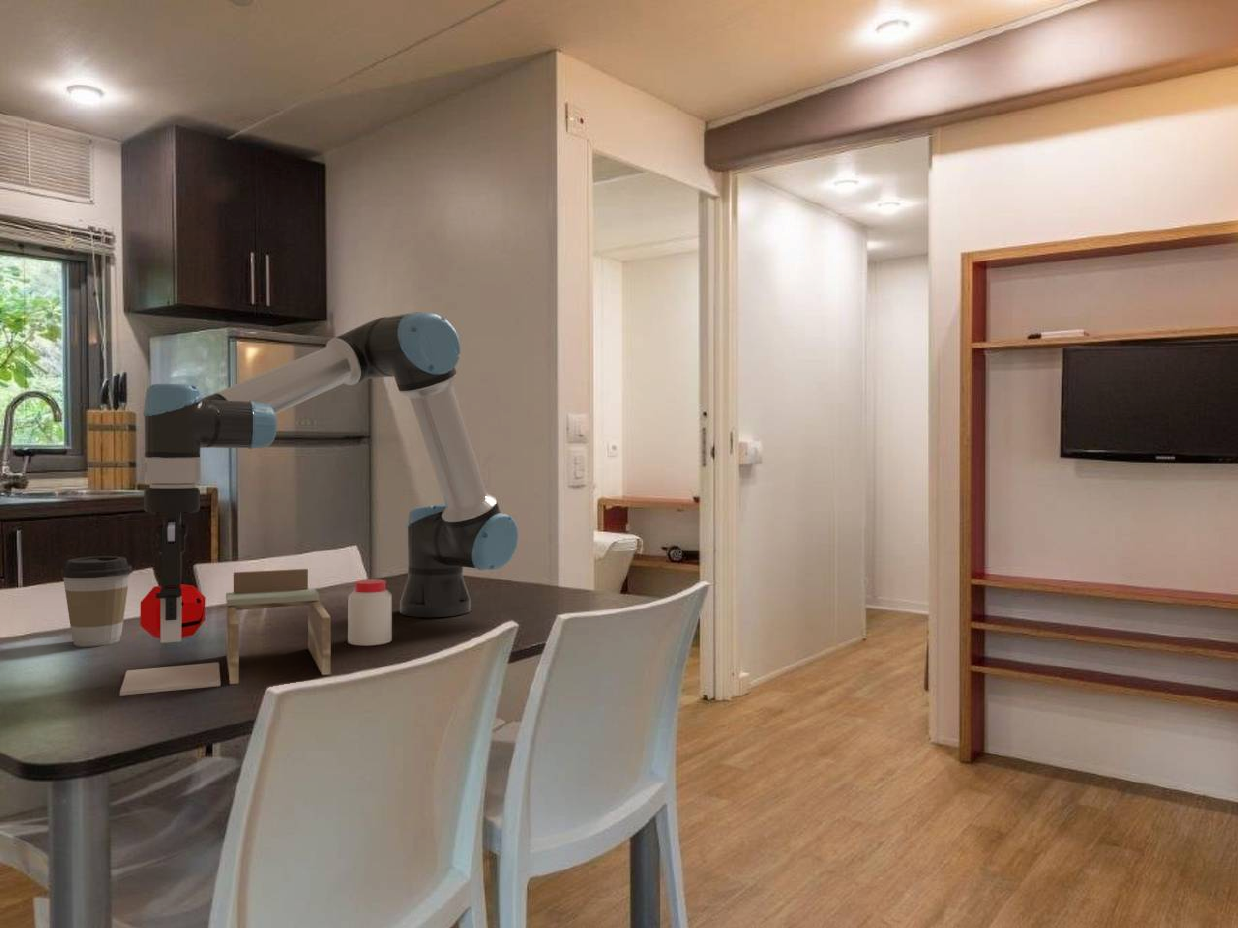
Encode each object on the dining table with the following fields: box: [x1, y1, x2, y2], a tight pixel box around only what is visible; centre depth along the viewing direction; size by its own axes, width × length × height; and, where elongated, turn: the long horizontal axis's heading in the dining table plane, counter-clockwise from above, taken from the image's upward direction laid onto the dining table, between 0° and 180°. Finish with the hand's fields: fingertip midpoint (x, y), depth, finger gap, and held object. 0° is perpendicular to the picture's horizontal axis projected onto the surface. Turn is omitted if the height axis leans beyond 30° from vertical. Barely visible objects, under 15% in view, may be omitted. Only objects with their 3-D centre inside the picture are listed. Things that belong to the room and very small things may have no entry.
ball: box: [139, 584, 206, 639], centre depth 133 cm, size 8×8×8 cm
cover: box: [225, 568, 320, 606], centre depth 151 cm, size 14×8×4 cm, turn 116°
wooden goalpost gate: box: [225, 600, 332, 685], centre depth 143 cm, size 14×20×9 cm
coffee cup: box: [59, 555, 134, 648], centre depth 158 cm, size 11×11×15 cm
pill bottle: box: [347, 578, 393, 647], centre depth 161 cm, size 8×8×11 cm
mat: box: [119, 661, 221, 697], centre depth 133 cm, size 13×13×1 cm
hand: (171, 635), depth 133 cm, fingers closed on ball, 9 cm apart
